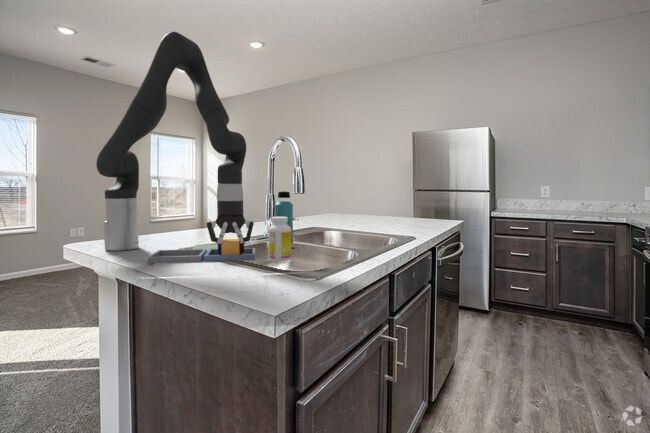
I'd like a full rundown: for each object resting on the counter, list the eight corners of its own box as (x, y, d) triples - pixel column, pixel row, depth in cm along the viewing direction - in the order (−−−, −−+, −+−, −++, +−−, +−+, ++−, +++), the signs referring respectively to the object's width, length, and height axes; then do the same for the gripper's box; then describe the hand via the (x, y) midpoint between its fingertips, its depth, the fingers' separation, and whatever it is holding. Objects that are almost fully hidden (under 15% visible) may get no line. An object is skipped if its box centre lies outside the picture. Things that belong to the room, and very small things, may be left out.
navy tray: (204, 263, 99) (203, 256, 99) (209, 255, 109) (209, 248, 109) (254, 261, 101) (254, 254, 101) (255, 254, 112) (255, 247, 111)
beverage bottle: (283, 246, 124) (282, 191, 122) (297, 249, 121) (297, 191, 119) (270, 249, 119) (269, 191, 117) (284, 252, 115) (284, 191, 113)
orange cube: (221, 258, 102) (221, 241, 102) (223, 255, 107) (223, 239, 107) (239, 258, 103) (238, 241, 103) (240, 254, 108) (240, 238, 108)
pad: (189, 254, 110) (189, 251, 110) (196, 247, 122) (196, 244, 121) (228, 253, 112) (228, 250, 112) (231, 246, 124) (231, 244, 124)
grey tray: (147, 264, 96) (147, 257, 96) (158, 256, 107) (158, 250, 106) (200, 263, 99) (200, 256, 99) (206, 255, 109) (206, 249, 109)
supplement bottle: (293, 257, 107) (293, 216, 106) (288, 262, 100) (288, 218, 99) (271, 257, 107) (271, 215, 106) (266, 262, 101) (265, 218, 100)
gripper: (255, 198, 108) (255, 252, 110) (207, 198, 106) (208, 253, 108) (254, 199, 101) (255, 257, 103) (203, 199, 99) (204, 258, 100)
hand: (231, 255), depth 105 cm, fingers closed on orange cube, 5 cm apart
